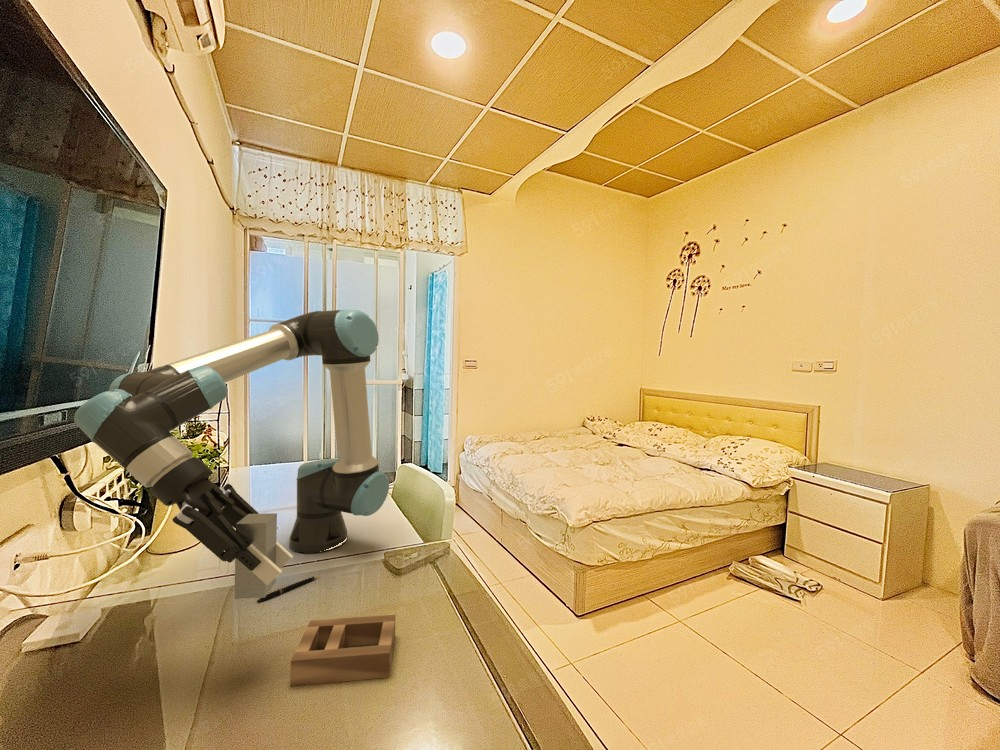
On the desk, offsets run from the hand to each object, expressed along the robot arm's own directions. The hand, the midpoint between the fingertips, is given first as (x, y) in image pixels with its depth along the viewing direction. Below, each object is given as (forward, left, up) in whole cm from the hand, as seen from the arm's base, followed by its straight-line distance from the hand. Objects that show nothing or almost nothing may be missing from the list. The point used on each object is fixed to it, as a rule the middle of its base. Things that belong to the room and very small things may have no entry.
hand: (280, 570), depth 69 cm
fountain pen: (-25, -6, -17) cm, 30 cm away
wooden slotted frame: (0, +11, -16) cm, 19 cm away
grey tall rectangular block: (0, -4, -3) cm, 5 cm away
